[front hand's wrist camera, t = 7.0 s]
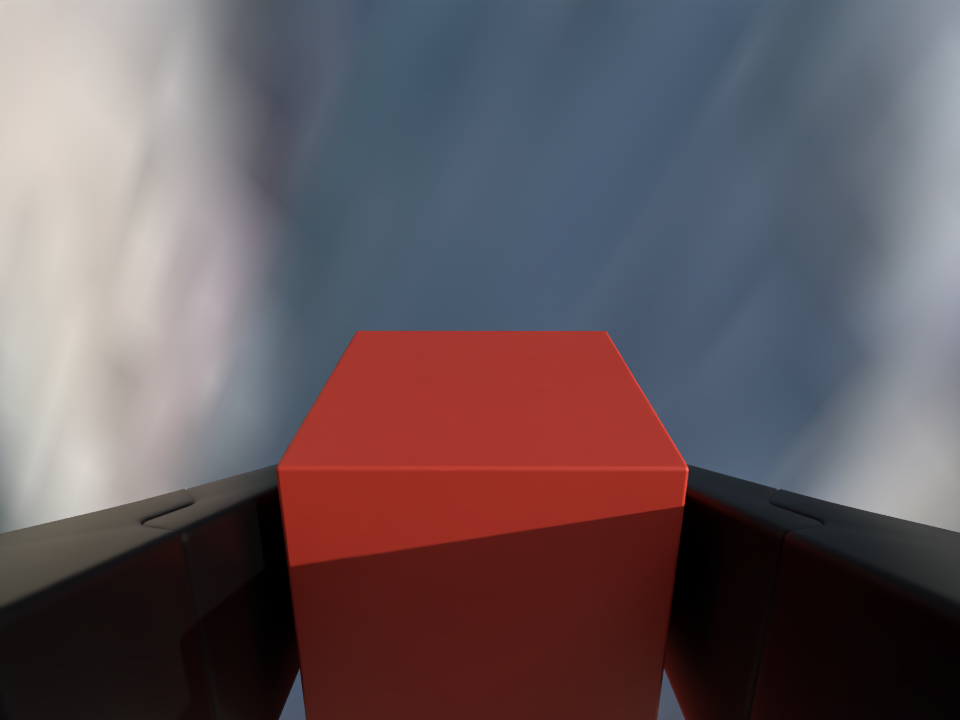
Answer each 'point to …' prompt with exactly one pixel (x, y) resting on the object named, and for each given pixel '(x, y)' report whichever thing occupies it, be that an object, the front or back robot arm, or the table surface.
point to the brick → (481, 531)
